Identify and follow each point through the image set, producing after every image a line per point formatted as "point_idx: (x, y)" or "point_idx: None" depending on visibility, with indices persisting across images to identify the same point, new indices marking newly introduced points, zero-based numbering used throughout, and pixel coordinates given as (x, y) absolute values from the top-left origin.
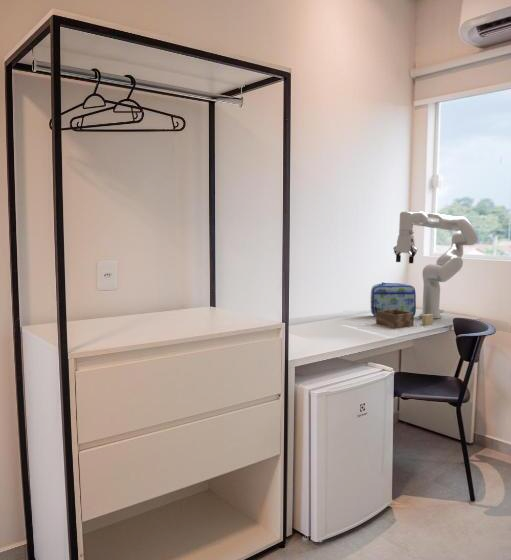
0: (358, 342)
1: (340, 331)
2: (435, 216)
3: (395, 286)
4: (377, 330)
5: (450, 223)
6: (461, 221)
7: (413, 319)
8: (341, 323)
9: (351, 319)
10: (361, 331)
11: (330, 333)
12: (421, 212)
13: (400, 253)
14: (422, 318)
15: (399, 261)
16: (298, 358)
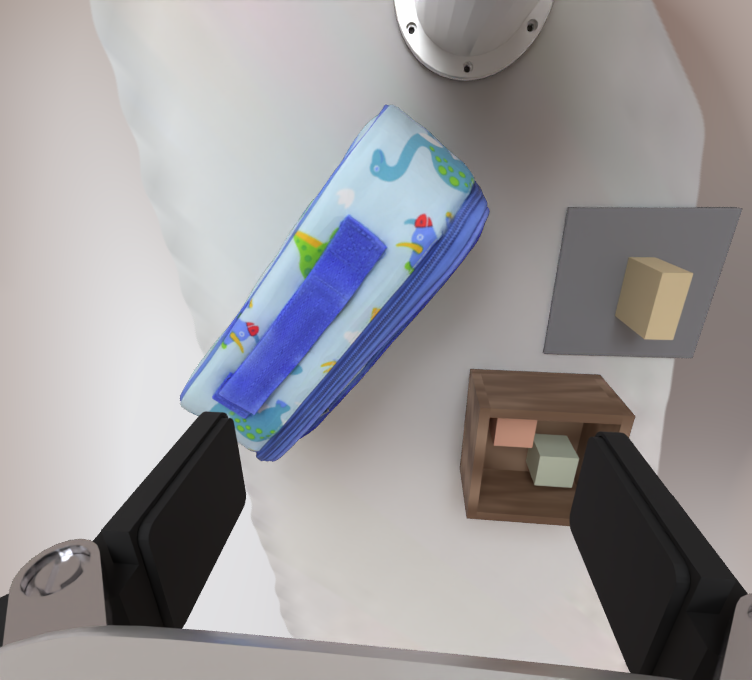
0: (602, 662)
1: (456, 610)
2: None
3: (367, 361)
4: (528, 523)
5: None
6: None
7: (617, 398)
8: (350, 532)
9: (300, 454)
10: (501, 569)
11: (460, 643)
12: None
13: (108, 615)
14: (635, 331)
15: (234, 447)
16: None
